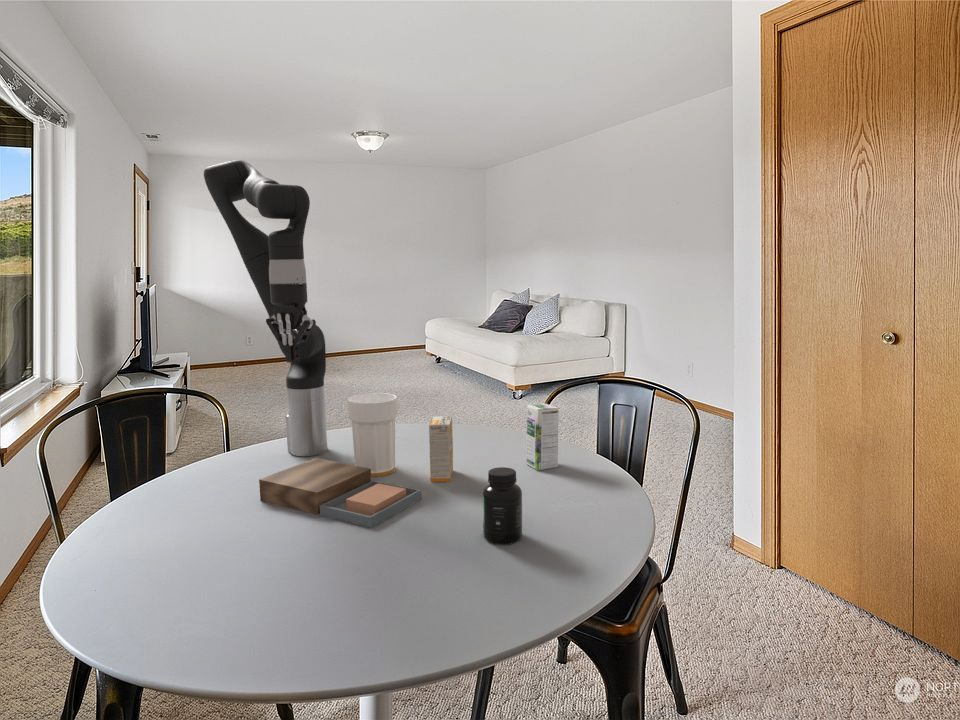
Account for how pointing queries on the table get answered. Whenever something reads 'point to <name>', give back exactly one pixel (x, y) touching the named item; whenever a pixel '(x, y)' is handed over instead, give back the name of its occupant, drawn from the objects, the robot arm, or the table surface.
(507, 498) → the supplement bottle
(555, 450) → the syrup box
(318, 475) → the walnut platform
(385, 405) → the cup
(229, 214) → the robot arm
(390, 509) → the slate tray
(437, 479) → the supplement box
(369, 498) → the terracotta tile
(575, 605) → the table surface
